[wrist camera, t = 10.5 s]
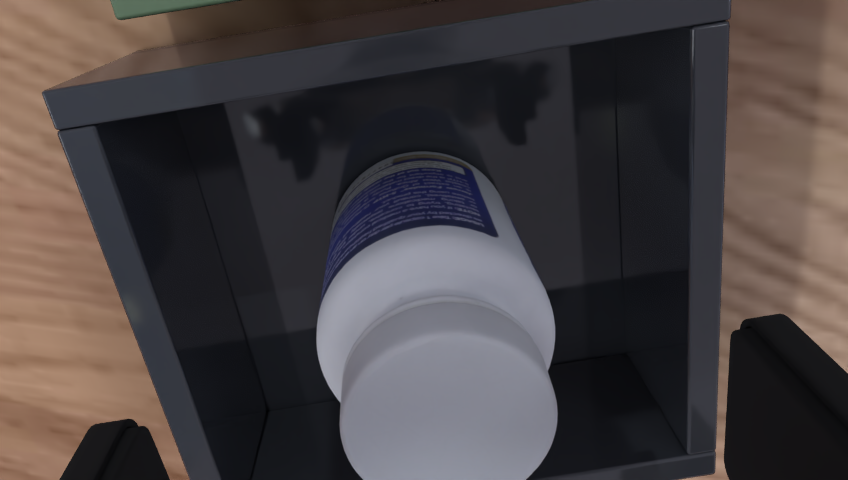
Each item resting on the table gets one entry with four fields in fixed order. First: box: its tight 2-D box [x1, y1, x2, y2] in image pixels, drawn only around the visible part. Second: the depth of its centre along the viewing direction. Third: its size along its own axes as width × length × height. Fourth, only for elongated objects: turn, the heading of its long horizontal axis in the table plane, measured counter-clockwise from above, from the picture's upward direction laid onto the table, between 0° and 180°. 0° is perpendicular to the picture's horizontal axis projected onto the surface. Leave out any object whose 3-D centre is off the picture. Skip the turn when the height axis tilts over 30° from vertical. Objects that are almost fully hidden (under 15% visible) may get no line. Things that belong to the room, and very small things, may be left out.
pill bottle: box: [316, 151, 558, 480], centre depth 16 cm, size 5×5×9 cm
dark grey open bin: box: [42, 0, 731, 480], centre depth 18 cm, size 13×14×6 cm
